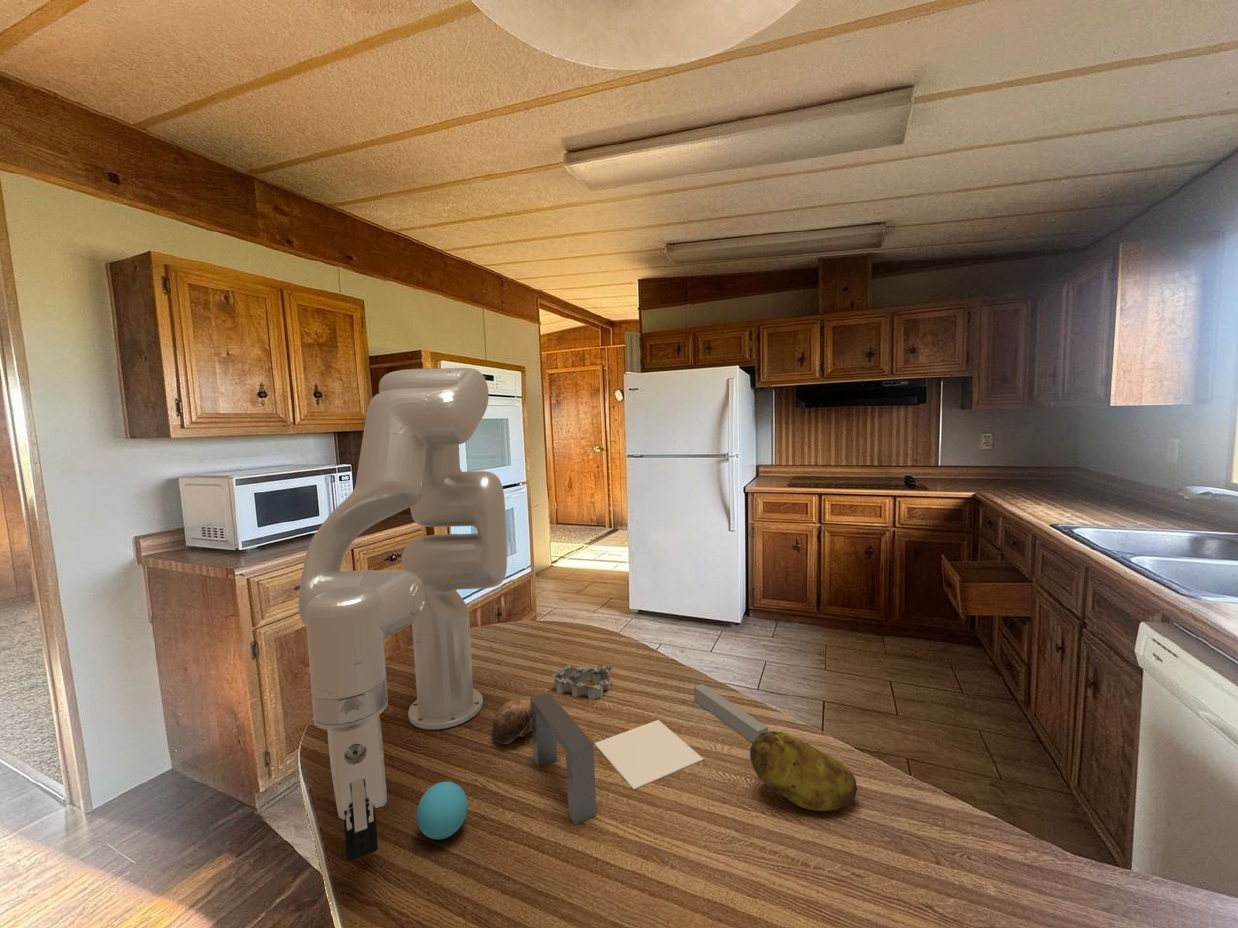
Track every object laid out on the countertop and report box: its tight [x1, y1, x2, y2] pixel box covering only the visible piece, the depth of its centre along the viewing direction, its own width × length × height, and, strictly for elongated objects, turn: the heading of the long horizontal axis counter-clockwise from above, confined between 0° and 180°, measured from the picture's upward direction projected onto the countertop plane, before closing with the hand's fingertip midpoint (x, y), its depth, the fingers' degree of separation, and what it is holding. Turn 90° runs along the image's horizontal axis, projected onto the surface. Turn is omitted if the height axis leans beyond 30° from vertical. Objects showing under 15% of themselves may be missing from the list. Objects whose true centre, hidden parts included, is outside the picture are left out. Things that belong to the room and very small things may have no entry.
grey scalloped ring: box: [551, 664, 613, 701], centre depth 100 cm, size 10×7×4 cm
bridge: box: [530, 692, 597, 826], centre depth 73 cm, size 3×15×10 cm, turn 29°
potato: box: [749, 730, 858, 812], centre depth 69 cm, size 8×13×8 cm, turn 58°
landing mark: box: [594, 719, 704, 790], centre depth 80 cm, size 12×12×1 cm
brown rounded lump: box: [492, 697, 532, 745], centre depth 85 cm, size 8×8×6 cm
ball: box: [416, 781, 468, 840], centre depth 65 cm, size 6×6×6 cm
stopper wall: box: [693, 683, 769, 744], centre depth 88 cm, size 16×2×2 cm, turn 29°
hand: (362, 850), depth 61 cm, fingers closed
